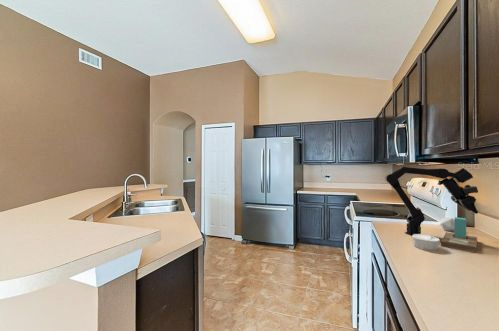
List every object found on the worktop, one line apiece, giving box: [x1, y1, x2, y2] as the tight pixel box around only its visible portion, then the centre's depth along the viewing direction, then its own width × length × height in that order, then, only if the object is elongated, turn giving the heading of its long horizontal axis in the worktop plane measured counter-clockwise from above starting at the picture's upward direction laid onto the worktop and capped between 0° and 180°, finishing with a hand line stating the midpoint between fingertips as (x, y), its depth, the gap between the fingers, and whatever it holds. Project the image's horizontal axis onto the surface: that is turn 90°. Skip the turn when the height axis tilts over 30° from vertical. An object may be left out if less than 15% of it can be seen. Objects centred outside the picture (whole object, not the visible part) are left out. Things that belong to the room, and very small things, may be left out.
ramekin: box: [411, 233, 441, 252], centre depth 120 cm, size 11×11×5 cm
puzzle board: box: [440, 231, 478, 253], centre depth 125 cm, size 22×13×3 cm, turn 135°
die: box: [439, 217, 454, 232], centre depth 150 cm, size 8×9×10 cm
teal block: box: [453, 216, 467, 239], centre depth 129 cm, size 4×4×12 cm
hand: (473, 211), depth 130 cm, fingers open, 9 cm apart
